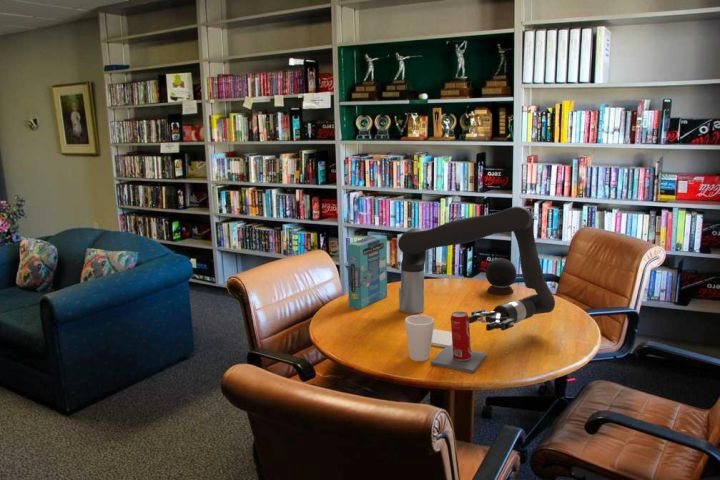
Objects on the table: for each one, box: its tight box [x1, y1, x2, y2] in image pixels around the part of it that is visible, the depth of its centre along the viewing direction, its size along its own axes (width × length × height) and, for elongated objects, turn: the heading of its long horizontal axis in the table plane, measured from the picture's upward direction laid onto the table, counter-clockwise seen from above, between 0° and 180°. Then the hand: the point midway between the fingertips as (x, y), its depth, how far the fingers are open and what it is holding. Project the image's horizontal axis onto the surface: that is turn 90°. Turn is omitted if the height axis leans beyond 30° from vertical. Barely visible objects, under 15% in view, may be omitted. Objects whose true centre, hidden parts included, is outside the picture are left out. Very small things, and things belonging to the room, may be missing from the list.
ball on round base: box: [485, 257, 517, 296], centre depth 259 cm, size 13×13×15 cm
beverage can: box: [450, 311, 472, 361], centre depth 188 cm, size 6×6×15 cm
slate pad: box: [430, 346, 488, 374], centre depth 190 cm, size 14×14×1 cm
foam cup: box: [404, 314, 435, 362], centre depth 192 cm, size 10×9×13 cm
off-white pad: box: [431, 328, 453, 348], centre depth 208 cm, size 12×12×1 cm
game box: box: [347, 234, 388, 310], centre depth 247 cm, size 20×6×27 cm, turn 144°
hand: (477, 324), depth 193 cm, fingers open, 8 cm apart
